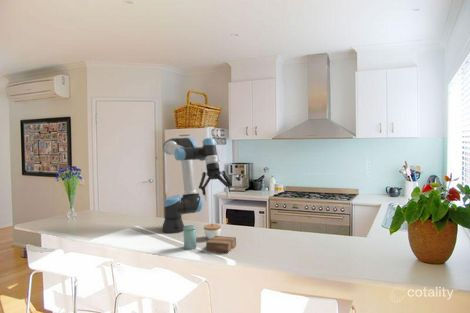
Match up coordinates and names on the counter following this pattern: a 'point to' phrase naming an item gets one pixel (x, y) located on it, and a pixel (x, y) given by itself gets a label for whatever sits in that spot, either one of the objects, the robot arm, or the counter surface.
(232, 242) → the slab
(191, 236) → the canister
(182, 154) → the robot arm
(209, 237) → the lidded jar
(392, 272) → the counter surface
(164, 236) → the counter surface
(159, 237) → the counter surface
